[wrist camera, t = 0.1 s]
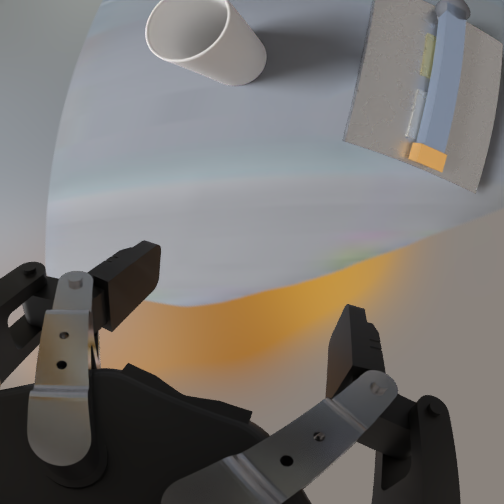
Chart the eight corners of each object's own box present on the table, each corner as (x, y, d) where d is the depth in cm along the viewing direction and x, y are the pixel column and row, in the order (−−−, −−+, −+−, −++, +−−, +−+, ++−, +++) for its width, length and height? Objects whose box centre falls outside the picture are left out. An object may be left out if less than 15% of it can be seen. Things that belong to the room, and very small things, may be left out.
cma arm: (435, -2, 19) (443, -12, 16) (461, 10, 19) (470, 2, 16) (406, 158, 28) (414, 160, 26) (433, 169, 28) (443, 173, 25)
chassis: (372, -2, 25) (378, -19, 20) (486, 49, 23) (504, 42, 18) (342, 140, 35) (345, 141, 30) (460, 186, 33) (477, 194, 28)
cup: (276, 43, 32) (246, -7, 17) (250, 94, 35) (204, 72, 21) (222, 26, 32) (168, -20, 17) (198, 75, 35) (131, 52, 21)
